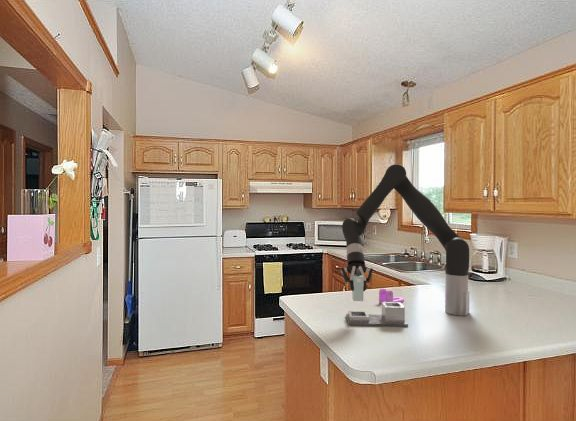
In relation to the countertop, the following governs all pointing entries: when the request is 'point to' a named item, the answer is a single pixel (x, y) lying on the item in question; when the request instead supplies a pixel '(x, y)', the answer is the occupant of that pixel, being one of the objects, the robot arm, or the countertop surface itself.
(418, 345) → the countertop surface
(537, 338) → the countertop surface
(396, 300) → the bracket
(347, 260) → the robot arm
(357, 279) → the grey bottle
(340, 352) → the countertop surface
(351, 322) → the dark gray base plate
